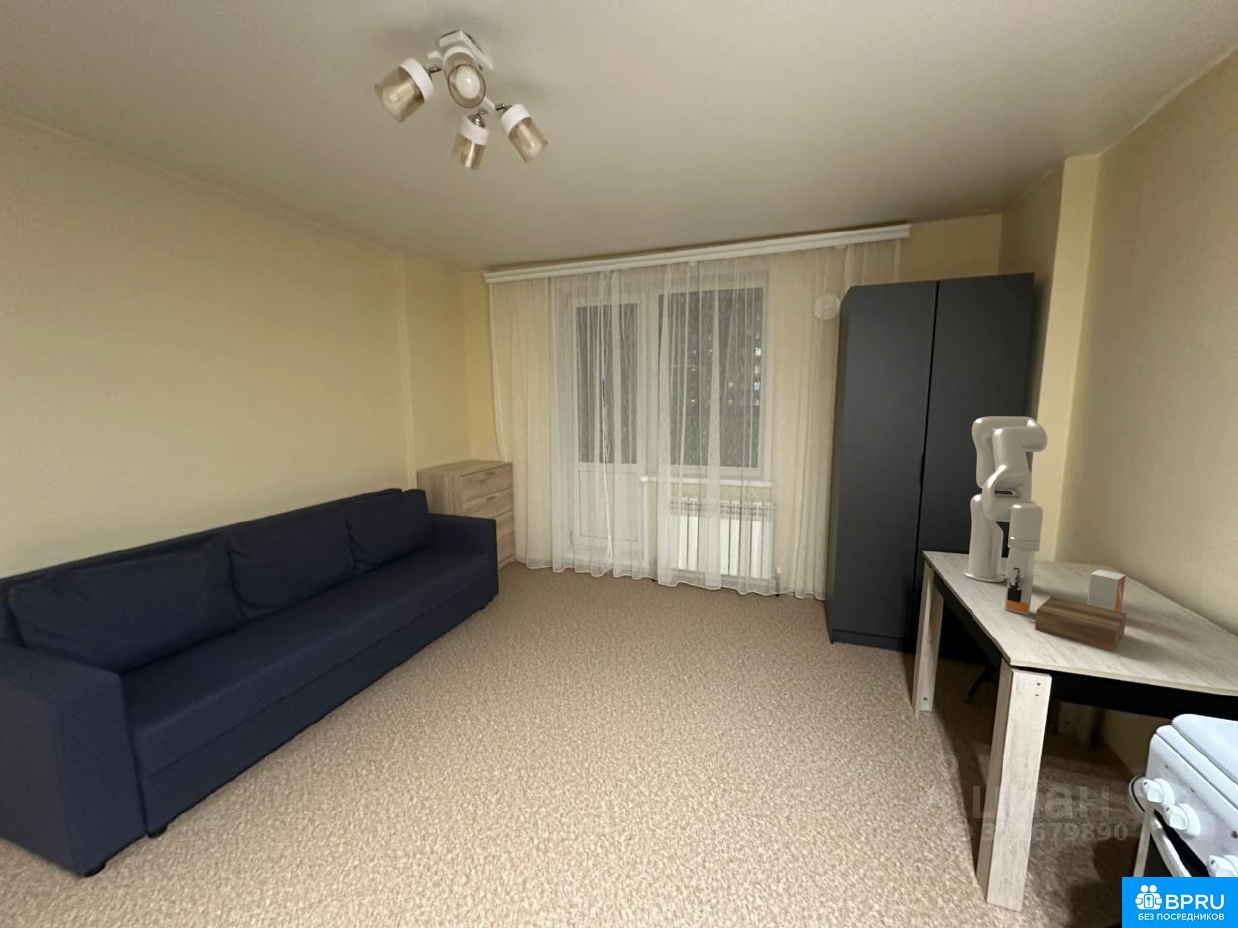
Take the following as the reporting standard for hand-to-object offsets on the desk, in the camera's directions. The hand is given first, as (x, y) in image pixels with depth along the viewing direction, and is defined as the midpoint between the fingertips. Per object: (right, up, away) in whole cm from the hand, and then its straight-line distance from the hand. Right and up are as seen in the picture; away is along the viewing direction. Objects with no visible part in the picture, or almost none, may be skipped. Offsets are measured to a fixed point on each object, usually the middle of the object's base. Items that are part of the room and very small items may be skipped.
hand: (1018, 597), depth 152 cm
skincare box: (0, -4, +1) cm, 5 cm away
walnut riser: (+6, -6, -14) cm, 16 cm away
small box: (+24, -5, -3) cm, 24 cm away
